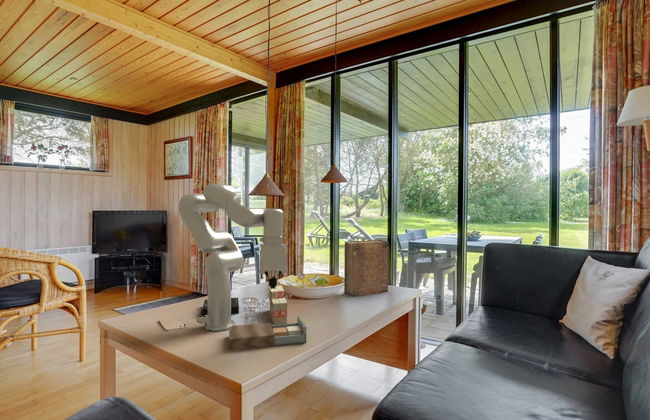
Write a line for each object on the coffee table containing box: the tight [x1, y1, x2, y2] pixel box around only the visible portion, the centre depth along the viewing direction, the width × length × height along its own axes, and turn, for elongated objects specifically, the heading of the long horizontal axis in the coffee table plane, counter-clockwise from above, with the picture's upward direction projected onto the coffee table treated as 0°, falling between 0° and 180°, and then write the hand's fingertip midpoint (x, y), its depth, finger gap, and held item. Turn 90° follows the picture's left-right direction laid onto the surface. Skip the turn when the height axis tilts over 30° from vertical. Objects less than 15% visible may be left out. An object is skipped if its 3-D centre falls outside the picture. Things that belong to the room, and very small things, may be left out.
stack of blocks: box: [268, 285, 288, 325], centre depth 165 cm, size 21×6×12 cm, turn 14°
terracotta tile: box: [273, 327, 287, 341], centre depth 138 cm, size 5×5×3 cm
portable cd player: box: [200, 297, 240, 317], centre depth 175 cm, size 16×17×4 cm
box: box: [271, 315, 307, 347], centre depth 140 cm, size 12×14×6 cm
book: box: [343, 239, 390, 297], centre depth 211 cm, size 25×9×30 cm, turn 119°
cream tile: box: [286, 326, 301, 336], centre depth 140 cm, size 5×5×3 cm
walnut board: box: [228, 322, 275, 351], centre depth 136 cm, size 16×14×4 cm
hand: (272, 288), depth 138 cm, fingers closed
